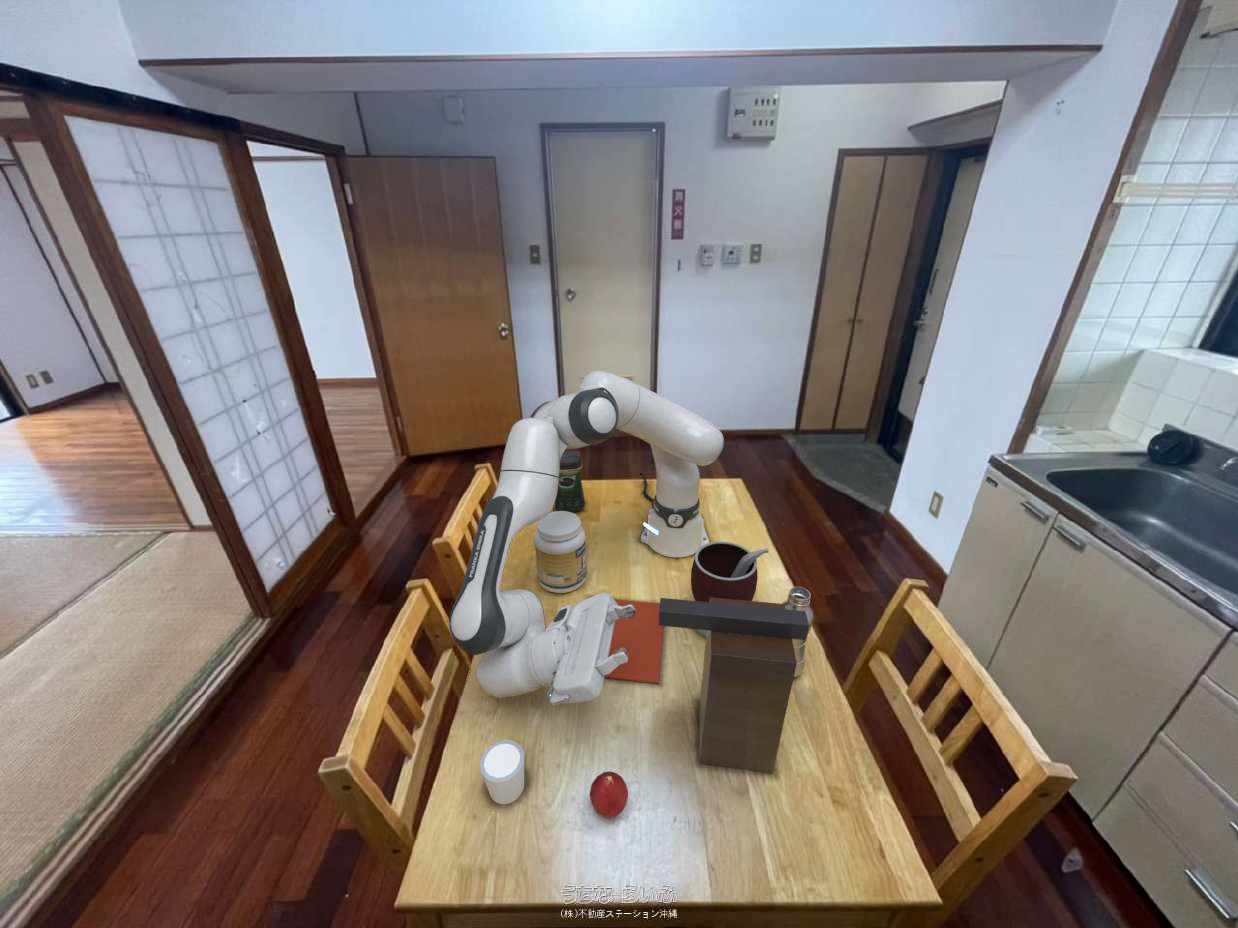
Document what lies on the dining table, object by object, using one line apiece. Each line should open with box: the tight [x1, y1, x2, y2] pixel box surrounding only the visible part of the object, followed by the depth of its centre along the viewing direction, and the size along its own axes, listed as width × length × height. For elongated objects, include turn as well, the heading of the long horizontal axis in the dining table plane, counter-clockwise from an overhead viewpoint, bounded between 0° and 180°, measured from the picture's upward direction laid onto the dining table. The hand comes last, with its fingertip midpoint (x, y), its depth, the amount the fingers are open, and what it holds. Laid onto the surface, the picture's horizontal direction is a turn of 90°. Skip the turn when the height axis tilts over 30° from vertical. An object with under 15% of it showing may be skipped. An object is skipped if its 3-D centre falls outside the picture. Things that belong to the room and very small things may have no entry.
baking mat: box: [604, 598, 665, 685], centre depth 112 cm, size 22×18×1 cm
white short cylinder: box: [479, 739, 525, 805], centre depth 82 cm, size 7×7×7 cm
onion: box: [589, 771, 629, 818], centre depth 79 cm, size 6×6×8 cm
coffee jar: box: [553, 450, 586, 513], centre depth 154 cm, size 10×8×19 cm
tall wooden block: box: [699, 597, 797, 774], centre depth 85 cm, size 12×12×26 cm
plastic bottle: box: [781, 586, 815, 678], centre depth 99 cm, size 6×7×20 cm
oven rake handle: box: [659, 597, 809, 641], centre depth 79 cm, size 3×22×3 cm, turn 82°
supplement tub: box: [533, 510, 588, 594], centre depth 125 cm, size 12×12×17 cm
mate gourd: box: [690, 540, 769, 638], centre depth 111 cm, size 16×14×20 cm
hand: (630, 631), depth 83 cm, fingers open, 8 cm apart
